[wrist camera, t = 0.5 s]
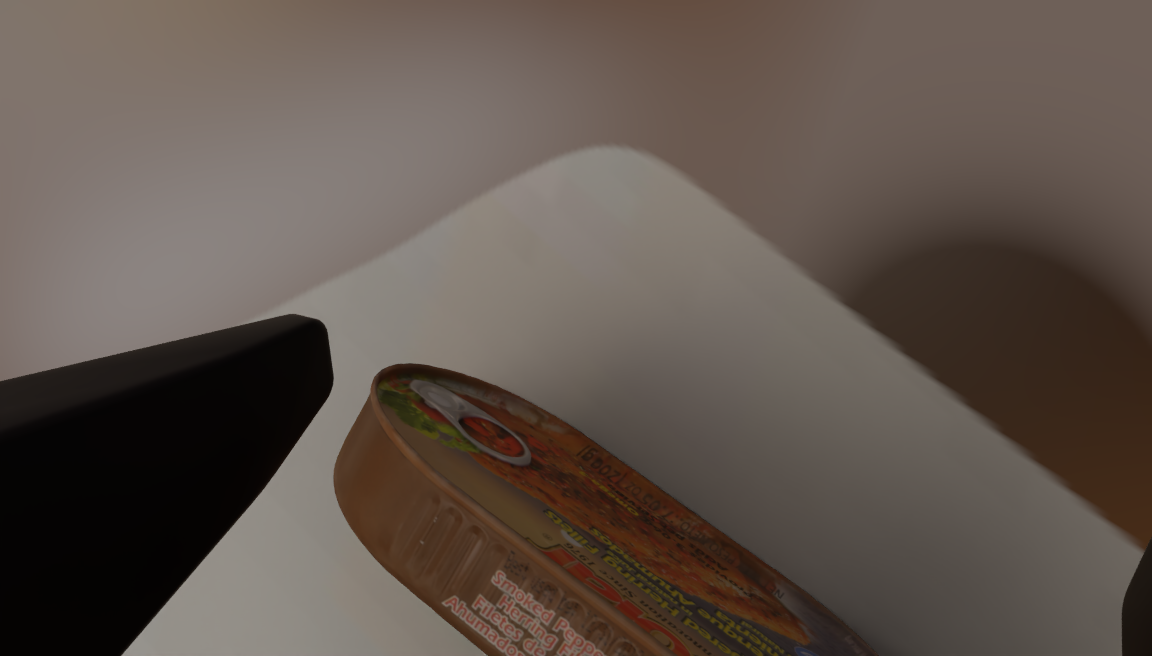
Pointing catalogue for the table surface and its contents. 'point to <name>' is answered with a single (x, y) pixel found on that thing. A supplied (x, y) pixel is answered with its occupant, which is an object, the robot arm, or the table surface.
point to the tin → (553, 535)
